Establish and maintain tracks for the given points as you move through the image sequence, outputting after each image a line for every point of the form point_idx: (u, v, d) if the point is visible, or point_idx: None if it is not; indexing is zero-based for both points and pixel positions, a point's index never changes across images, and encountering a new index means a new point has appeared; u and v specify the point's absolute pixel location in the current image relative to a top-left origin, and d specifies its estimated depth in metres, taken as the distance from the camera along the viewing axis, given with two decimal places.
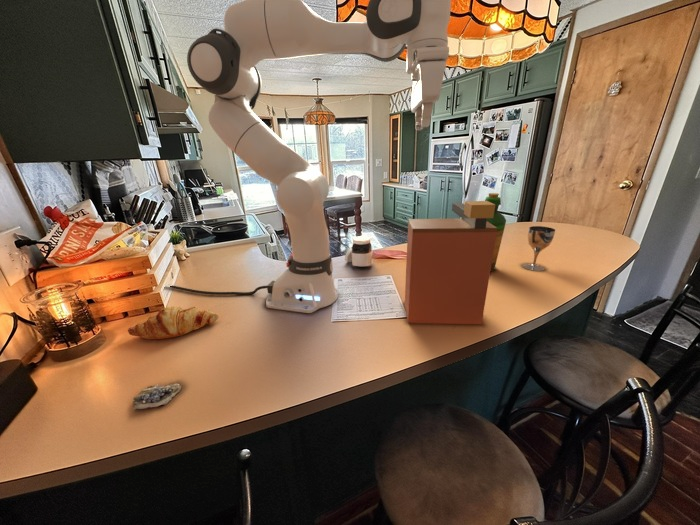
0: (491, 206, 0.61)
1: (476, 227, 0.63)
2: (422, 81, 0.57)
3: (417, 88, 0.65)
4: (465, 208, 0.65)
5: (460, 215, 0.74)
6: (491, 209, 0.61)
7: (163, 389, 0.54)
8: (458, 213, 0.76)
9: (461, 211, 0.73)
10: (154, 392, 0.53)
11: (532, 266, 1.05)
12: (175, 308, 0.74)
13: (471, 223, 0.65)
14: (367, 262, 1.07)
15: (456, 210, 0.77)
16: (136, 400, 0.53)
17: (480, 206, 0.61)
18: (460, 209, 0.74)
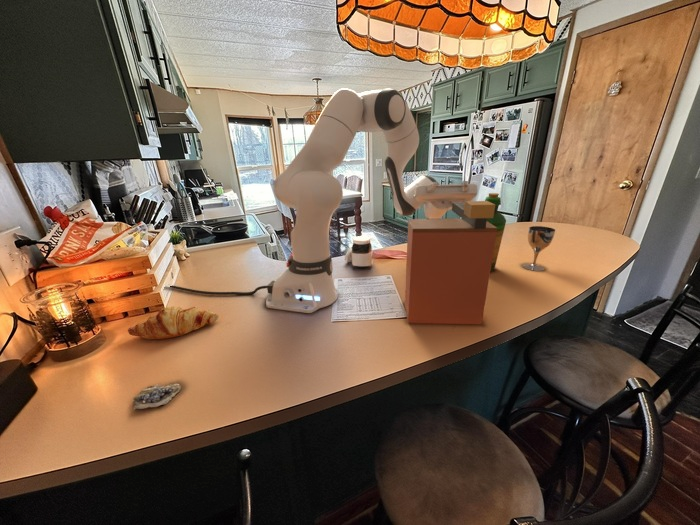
0: (491, 206, 0.61)
1: (476, 227, 0.63)
2: None
3: None
4: (465, 208, 0.65)
5: (460, 215, 0.74)
6: (491, 209, 0.61)
7: (163, 389, 0.54)
8: (458, 213, 0.76)
9: (461, 211, 0.73)
10: (154, 392, 0.53)
11: (532, 266, 1.05)
12: (175, 308, 0.74)
13: (471, 223, 0.65)
14: (367, 262, 1.07)
15: (456, 210, 0.77)
16: (136, 400, 0.53)
17: (480, 206, 0.61)
18: (460, 209, 0.74)
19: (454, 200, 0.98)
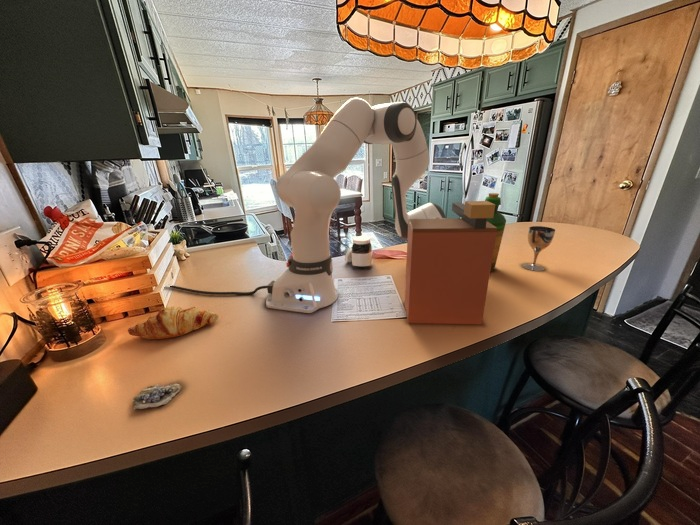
0: (491, 206, 0.61)
1: (476, 227, 0.63)
2: None
3: None
4: (465, 208, 0.65)
5: (460, 215, 0.74)
6: (491, 209, 0.61)
7: (163, 389, 0.54)
8: (458, 213, 0.76)
9: (461, 211, 0.73)
10: (154, 392, 0.53)
11: (532, 266, 1.05)
12: (175, 308, 0.74)
13: (471, 223, 0.65)
14: (367, 262, 1.07)
15: (456, 210, 0.77)
16: (136, 400, 0.53)
17: (480, 206, 0.61)
18: (460, 209, 0.74)
19: None
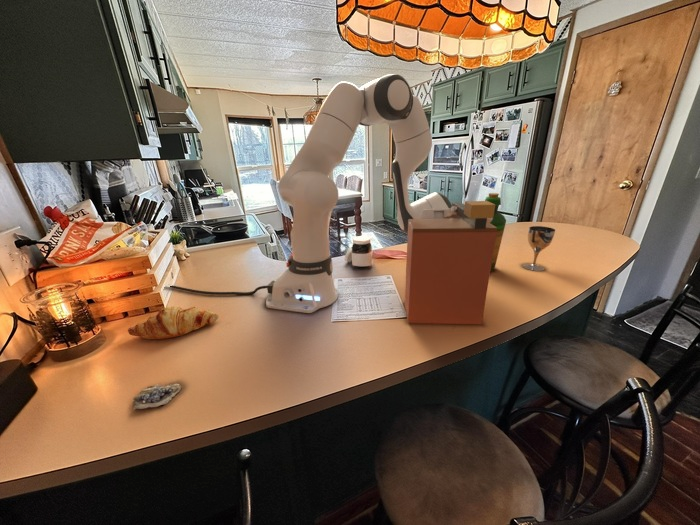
0: (491, 206, 0.61)
1: (476, 227, 0.63)
2: None
3: None
4: (465, 208, 0.65)
5: (460, 215, 0.74)
6: (491, 209, 0.61)
7: (163, 389, 0.54)
8: (458, 213, 0.76)
9: (461, 211, 0.73)
10: (154, 392, 0.53)
11: (532, 266, 1.05)
12: (175, 308, 0.74)
13: (471, 223, 0.65)
14: (367, 262, 1.07)
15: None
16: (136, 400, 0.53)
17: (480, 206, 0.61)
18: (460, 209, 0.74)
19: None
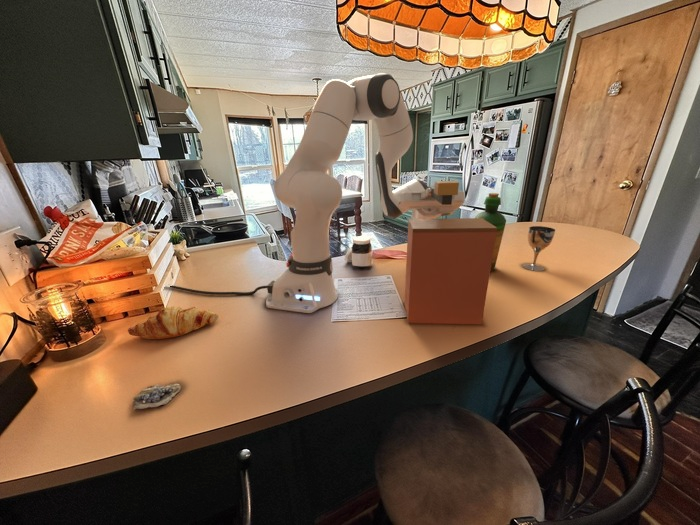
0: (455, 184, 0.69)
1: (443, 203, 0.71)
2: None
3: None
4: (434, 187, 0.74)
5: (433, 195, 0.82)
6: (455, 187, 0.69)
7: (163, 389, 0.54)
8: (432, 194, 0.84)
9: (434, 192, 0.81)
10: (154, 392, 0.53)
11: (532, 266, 1.05)
12: (175, 308, 0.74)
13: (440, 200, 0.73)
14: (367, 262, 1.07)
15: None
16: (136, 400, 0.53)
17: (446, 184, 0.69)
18: (433, 190, 0.82)
19: (441, 207, 0.94)
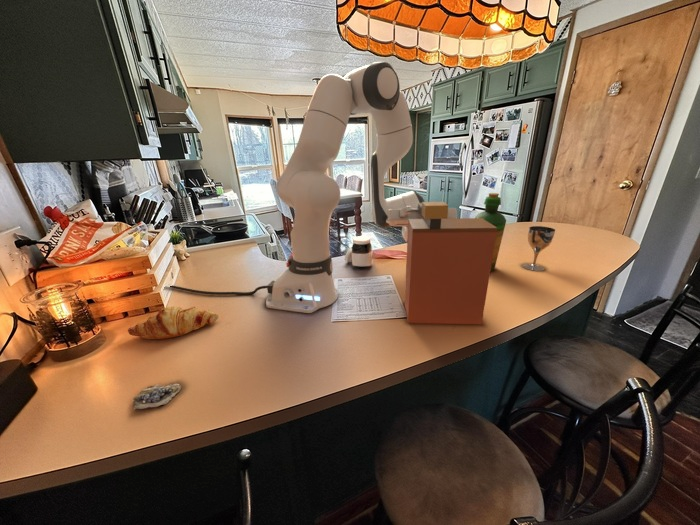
0: (444, 207, 0.62)
1: (431, 227, 0.64)
2: None
3: None
4: (422, 209, 0.66)
5: (422, 216, 0.75)
6: (445, 210, 0.62)
7: (163, 389, 0.54)
8: (421, 214, 0.77)
9: None
10: (154, 392, 0.53)
11: (532, 266, 1.05)
12: (175, 308, 0.74)
13: (428, 223, 0.66)
14: (367, 262, 1.07)
15: (420, 211, 0.78)
16: (136, 400, 0.53)
17: (434, 207, 0.62)
18: None
19: None
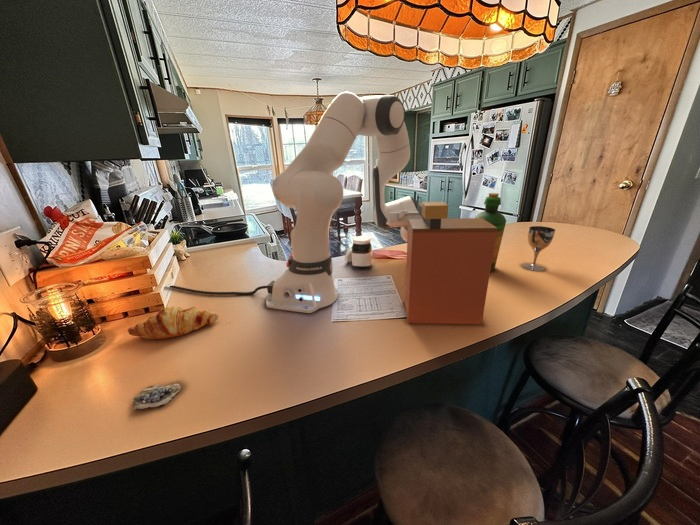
0: (444, 207, 0.62)
1: (431, 227, 0.64)
2: None
3: None
4: (422, 209, 0.66)
5: (422, 216, 0.75)
6: (445, 210, 0.62)
7: (163, 389, 0.54)
8: (421, 214, 0.77)
9: None
10: (154, 392, 0.53)
11: (532, 266, 1.05)
12: (175, 308, 0.74)
13: (428, 223, 0.66)
14: (367, 262, 1.07)
15: (420, 211, 0.78)
16: (136, 400, 0.53)
17: (434, 207, 0.62)
18: None
19: None
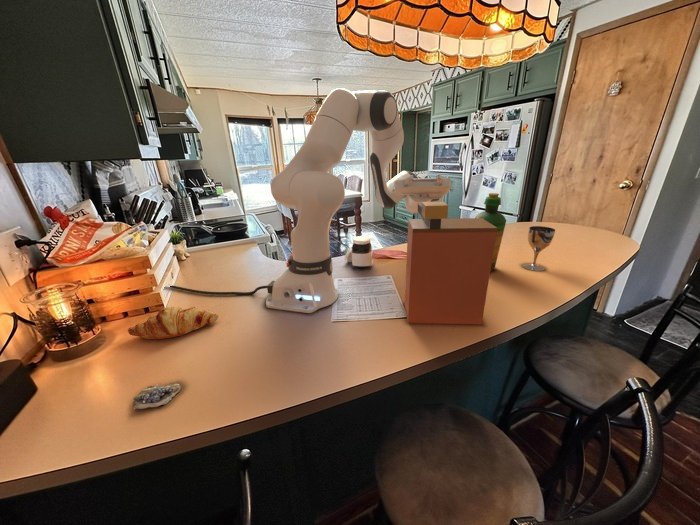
0: (444, 207, 0.62)
1: (431, 227, 0.64)
2: None
3: None
4: (422, 209, 0.66)
5: (422, 216, 0.75)
6: (445, 210, 0.62)
7: (163, 389, 0.54)
8: (421, 214, 0.77)
9: None
10: (154, 392, 0.53)
11: (532, 266, 1.05)
12: (175, 308, 0.74)
13: (428, 223, 0.66)
14: (367, 262, 1.07)
15: (420, 211, 0.78)
16: (136, 400, 0.53)
17: (434, 207, 0.62)
18: None
19: (431, 193, 1.04)
